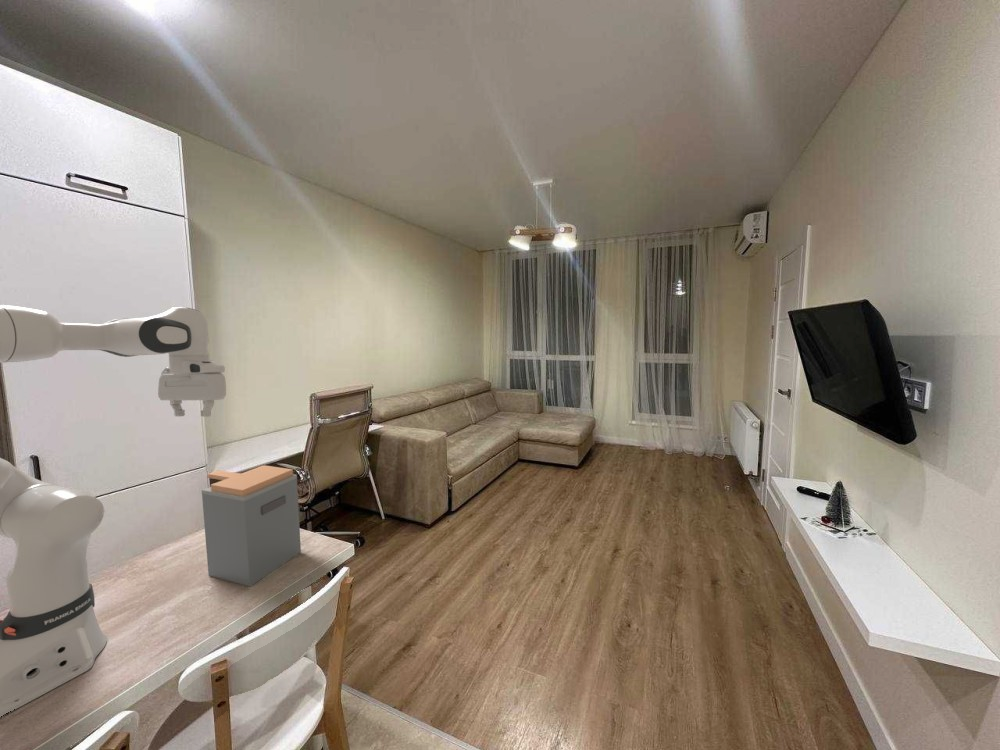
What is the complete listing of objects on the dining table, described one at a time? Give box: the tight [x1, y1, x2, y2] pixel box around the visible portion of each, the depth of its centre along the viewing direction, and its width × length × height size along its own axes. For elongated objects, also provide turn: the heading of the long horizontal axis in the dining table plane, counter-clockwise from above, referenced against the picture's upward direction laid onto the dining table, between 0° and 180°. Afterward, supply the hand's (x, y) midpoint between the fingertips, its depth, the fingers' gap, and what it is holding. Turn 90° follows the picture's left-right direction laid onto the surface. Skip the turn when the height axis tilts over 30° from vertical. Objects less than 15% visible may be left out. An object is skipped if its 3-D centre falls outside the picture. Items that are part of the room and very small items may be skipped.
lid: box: [206, 464, 294, 496], centre depth 117 cm, size 17×23×2 cm
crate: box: [201, 473, 302, 587], centre depth 117 cm, size 18×16×26 cm
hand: (192, 416), depth 108 cm, fingers open, 8 cm apart
